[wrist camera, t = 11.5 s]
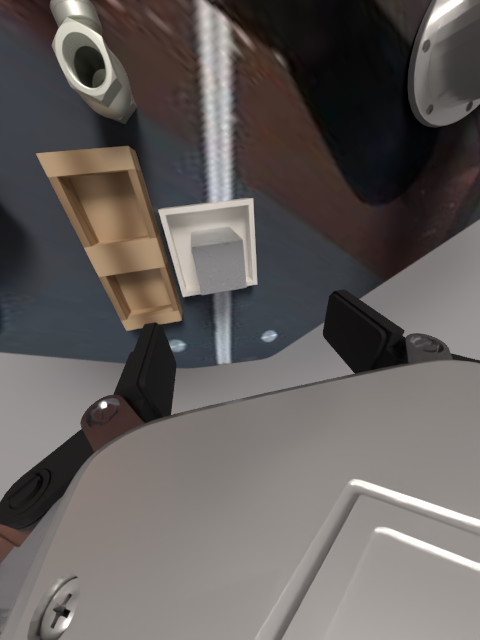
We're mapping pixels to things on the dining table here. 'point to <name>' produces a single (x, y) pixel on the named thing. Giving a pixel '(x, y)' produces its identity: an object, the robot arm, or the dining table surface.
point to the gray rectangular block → (218, 260)
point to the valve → (90, 60)
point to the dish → (205, 217)
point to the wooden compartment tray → (117, 230)
